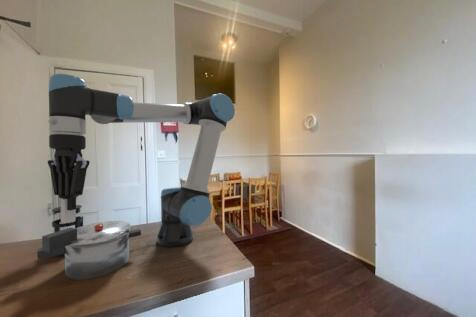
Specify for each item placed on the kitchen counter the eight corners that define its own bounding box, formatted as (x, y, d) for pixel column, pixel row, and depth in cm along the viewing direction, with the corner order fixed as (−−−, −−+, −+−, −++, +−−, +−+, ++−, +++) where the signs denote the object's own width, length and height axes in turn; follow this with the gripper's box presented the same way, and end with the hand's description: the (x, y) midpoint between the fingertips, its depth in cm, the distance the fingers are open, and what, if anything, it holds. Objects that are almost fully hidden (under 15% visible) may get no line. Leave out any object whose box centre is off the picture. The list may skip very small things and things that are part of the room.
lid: (104, 222, 81) (104, 210, 81) (142, 227, 75) (142, 214, 75) (24, 249, 58) (24, 232, 58) (69, 259, 52) (69, 241, 52)
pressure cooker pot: (136, 244, 85) (135, 220, 84) (145, 262, 70) (145, 233, 70) (44, 266, 68) (43, 236, 68) (32, 296, 53) (31, 258, 53)
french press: (66, 257, 74) (65, 194, 73) (42, 256, 74) (41, 194, 74) (92, 243, 85) (91, 189, 85) (71, 243, 86) (70, 189, 86)
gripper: (35, 133, 53) (35, 223, 53) (69, 132, 49) (69, 229, 49) (67, 136, 60) (67, 215, 60) (99, 135, 56) (99, 220, 56)
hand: (68, 221), depth 55 cm, fingers closed
